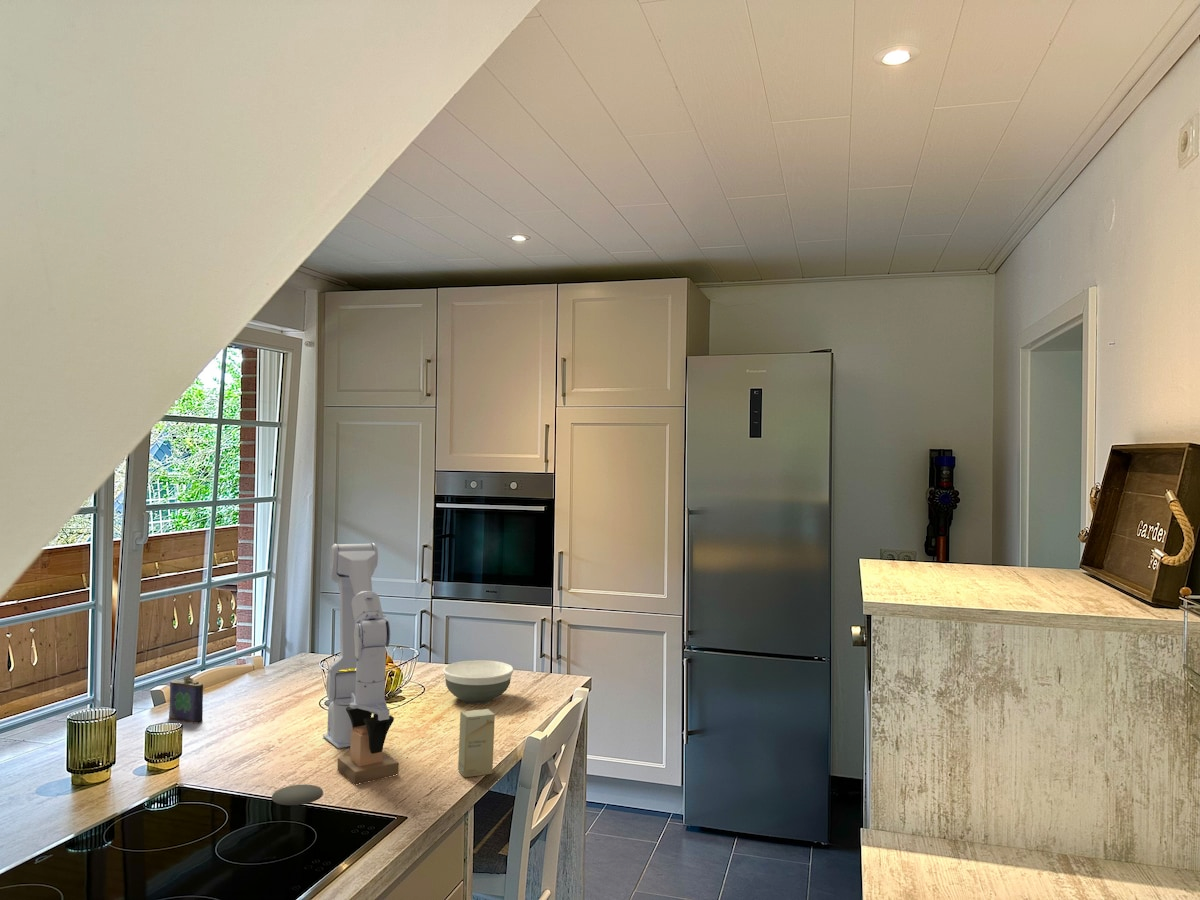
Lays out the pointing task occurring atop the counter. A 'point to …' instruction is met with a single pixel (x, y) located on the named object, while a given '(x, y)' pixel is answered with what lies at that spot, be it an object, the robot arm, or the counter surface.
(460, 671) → the bowl
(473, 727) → the skincare box
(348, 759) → the walnut block
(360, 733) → the tall tan wooden block
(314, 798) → the coaster
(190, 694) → the flask
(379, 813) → the counter surface
